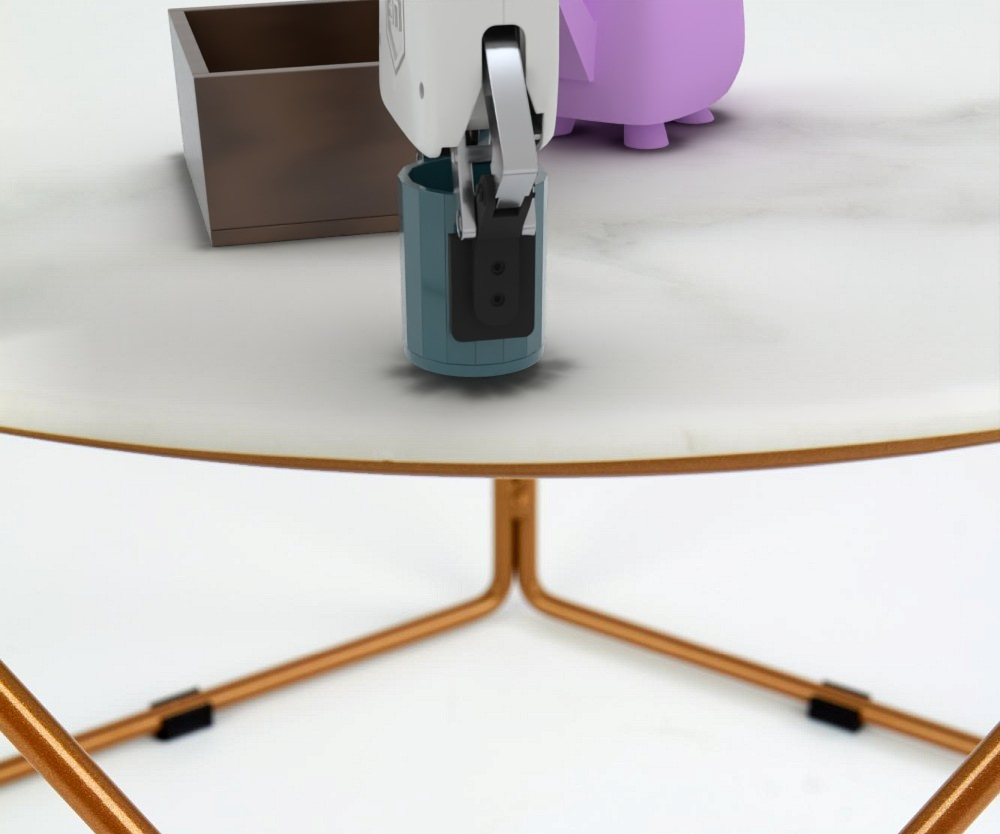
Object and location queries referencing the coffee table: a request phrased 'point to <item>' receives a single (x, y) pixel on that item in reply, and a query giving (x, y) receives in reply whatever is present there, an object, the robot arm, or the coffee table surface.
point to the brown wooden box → (287, 120)
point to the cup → (427, 277)
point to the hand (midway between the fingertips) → (473, 304)
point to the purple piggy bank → (646, 63)
